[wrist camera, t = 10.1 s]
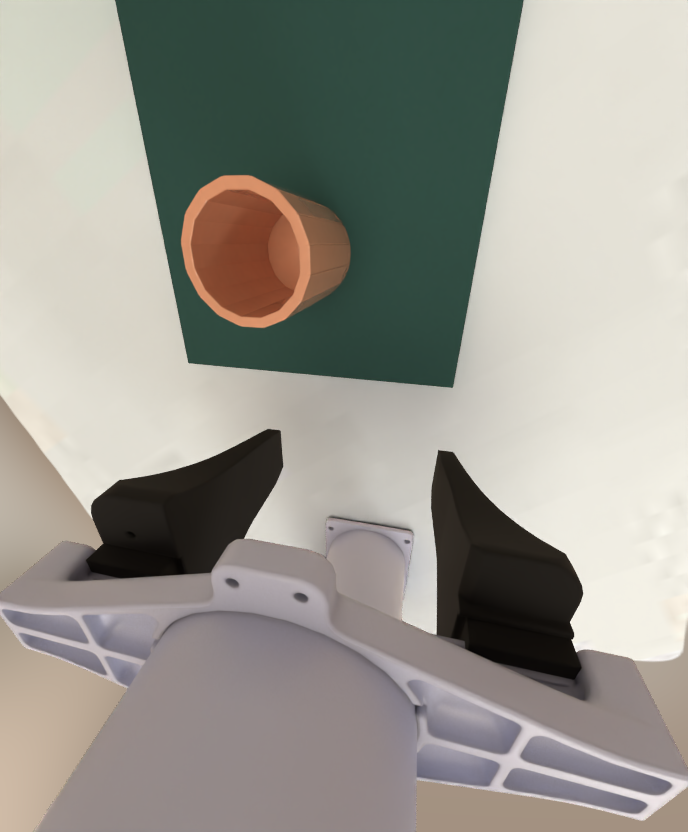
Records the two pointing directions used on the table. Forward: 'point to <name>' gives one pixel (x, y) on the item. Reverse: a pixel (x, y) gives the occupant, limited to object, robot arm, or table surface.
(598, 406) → the table surface
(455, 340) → the mat
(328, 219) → the brown cup
